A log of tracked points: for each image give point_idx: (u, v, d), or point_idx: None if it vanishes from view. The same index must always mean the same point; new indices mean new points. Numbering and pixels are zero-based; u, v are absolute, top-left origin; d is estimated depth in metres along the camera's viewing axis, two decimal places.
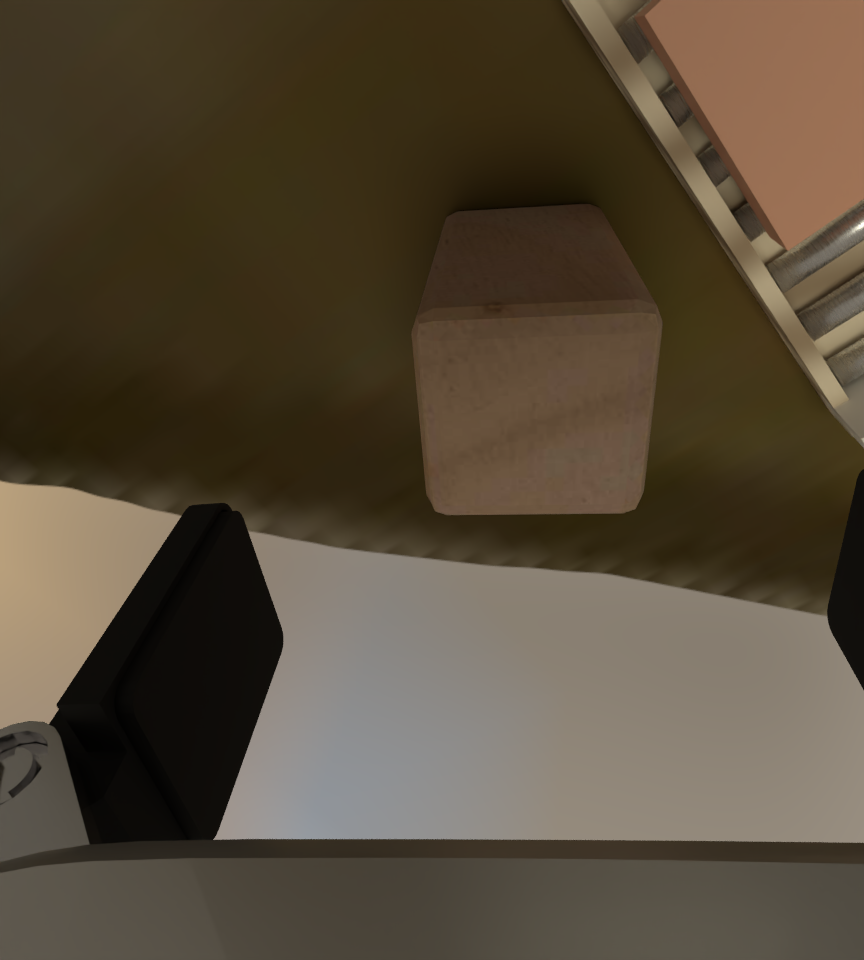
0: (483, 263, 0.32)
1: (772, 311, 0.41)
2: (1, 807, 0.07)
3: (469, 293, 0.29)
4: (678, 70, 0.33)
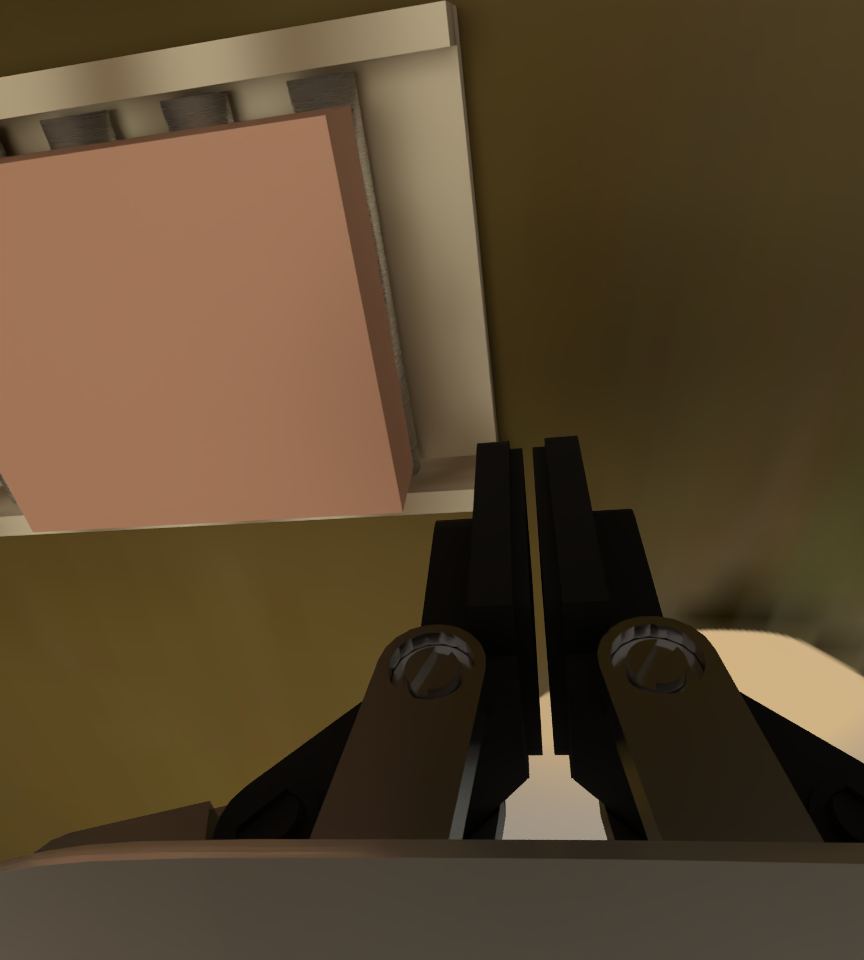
0: None
1: None
2: (416, 701, 0.07)
3: None
4: (214, 132, 0.17)
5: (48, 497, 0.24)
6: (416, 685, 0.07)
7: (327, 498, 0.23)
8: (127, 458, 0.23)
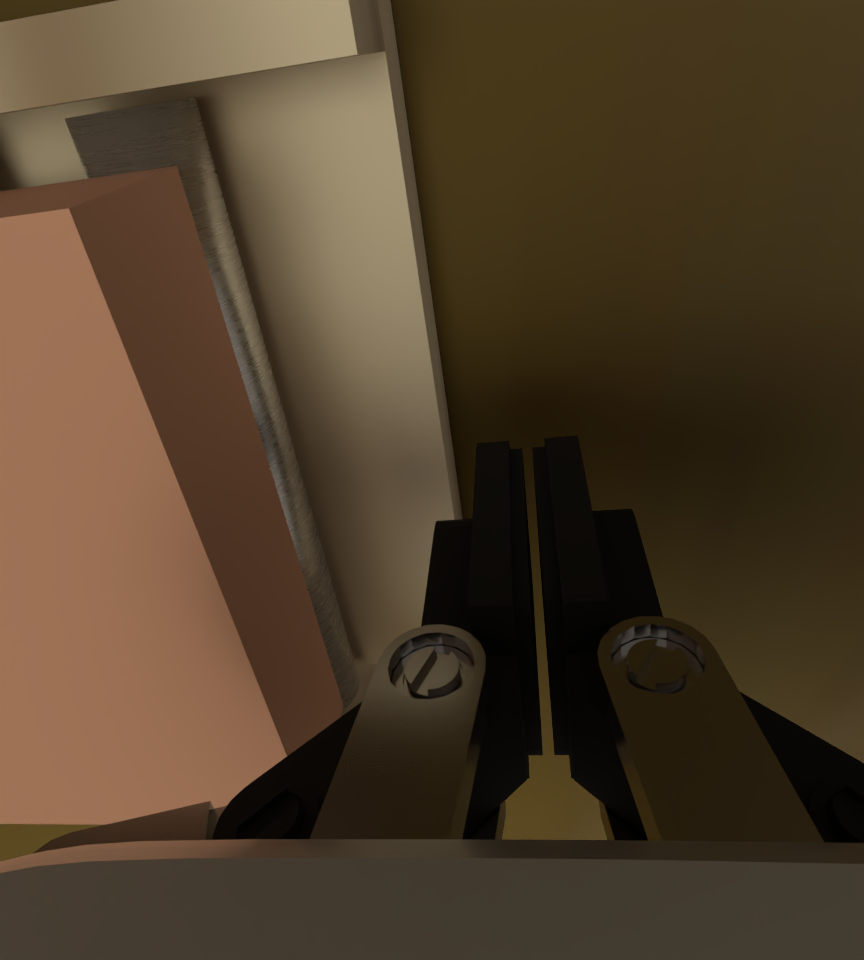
0: None
1: None
2: (416, 701, 0.07)
3: None
4: None
5: None
6: (416, 685, 0.07)
7: (189, 804, 0.14)
8: None
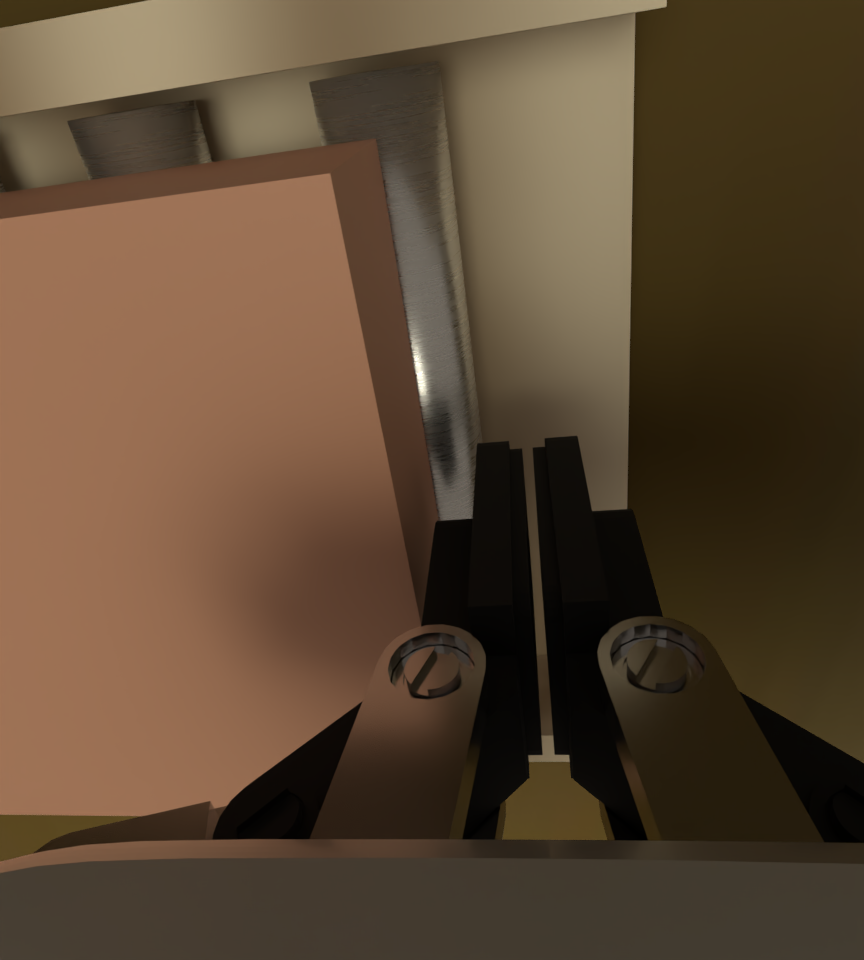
0: None
1: None
2: (416, 701, 0.07)
3: None
4: (84, 209, 0.08)
5: None
6: (416, 685, 0.07)
7: None
8: None
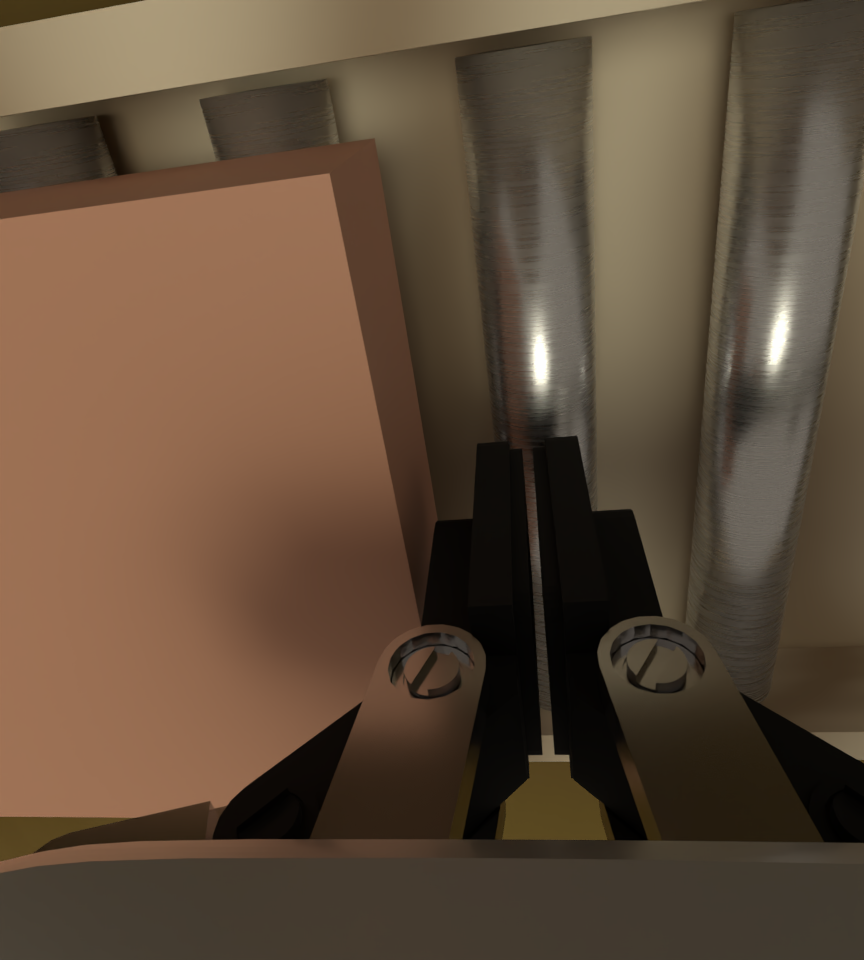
0: None
1: None
2: (416, 701, 0.07)
3: None
4: (82, 209, 0.08)
5: None
6: (416, 685, 0.07)
7: None
8: None
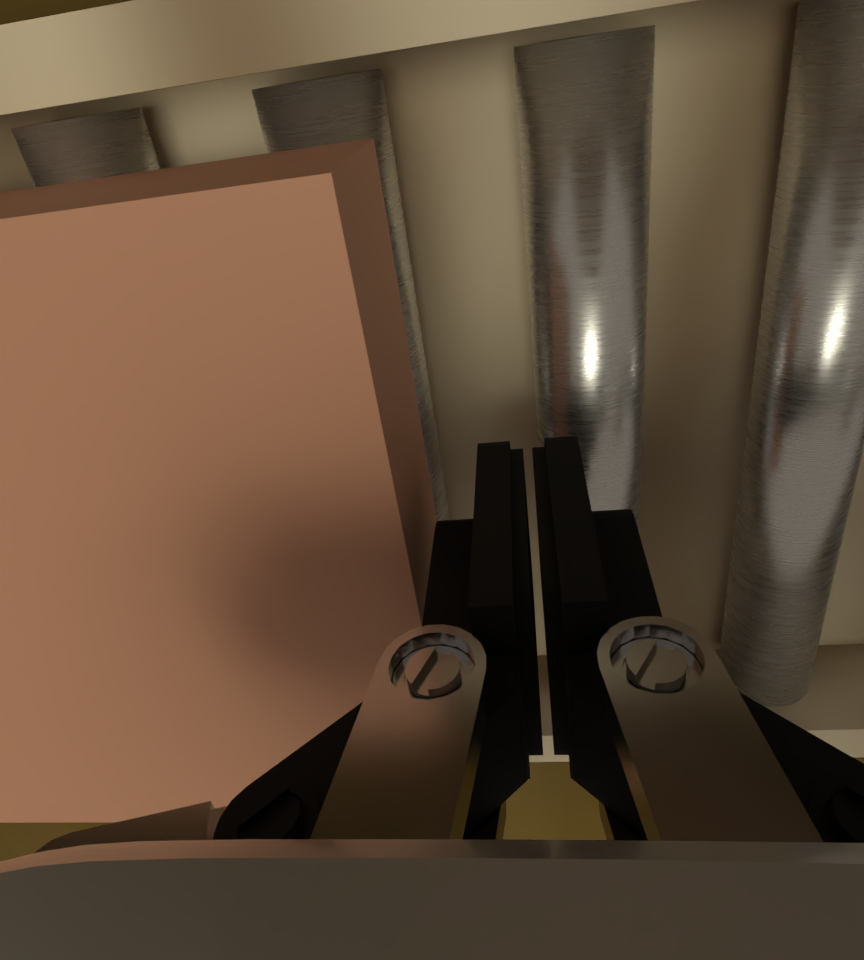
0: None
1: None
2: (417, 701, 0.07)
3: None
4: (81, 209, 0.08)
5: None
6: (417, 685, 0.07)
7: None
8: None
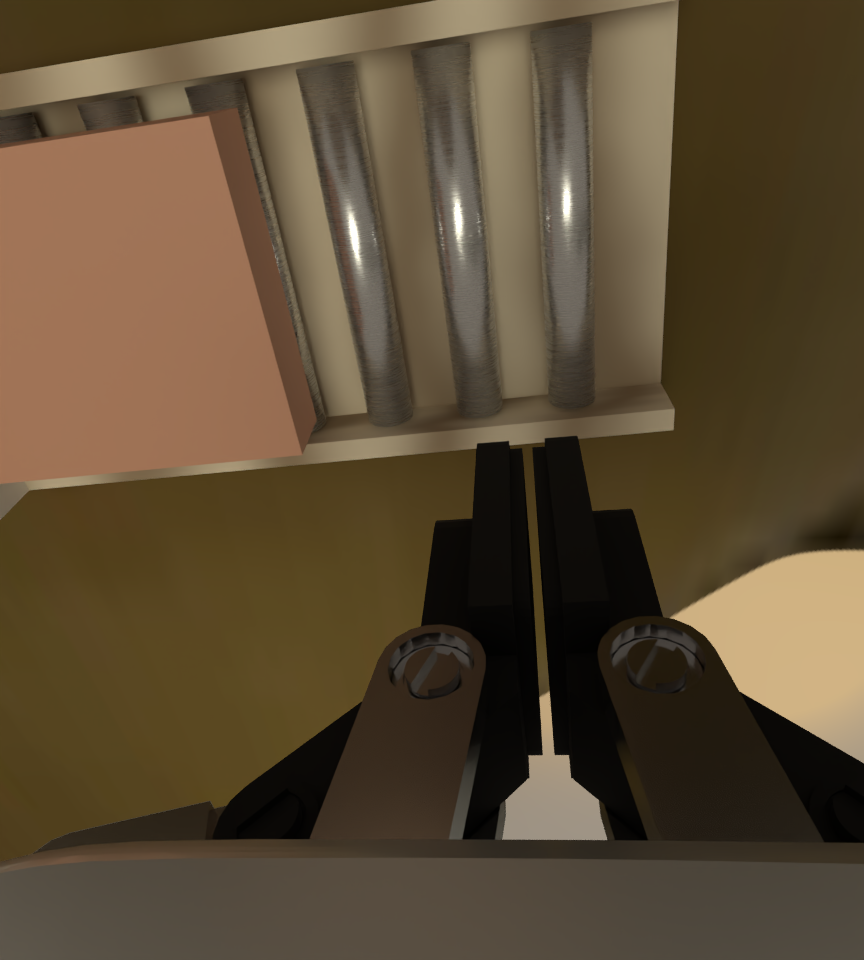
0: None
1: (45, 69, 0.23)
2: (416, 701, 0.07)
3: None
4: (118, 130, 0.21)
5: None
6: (416, 685, 0.07)
7: (237, 444, 0.27)
8: (60, 414, 0.27)
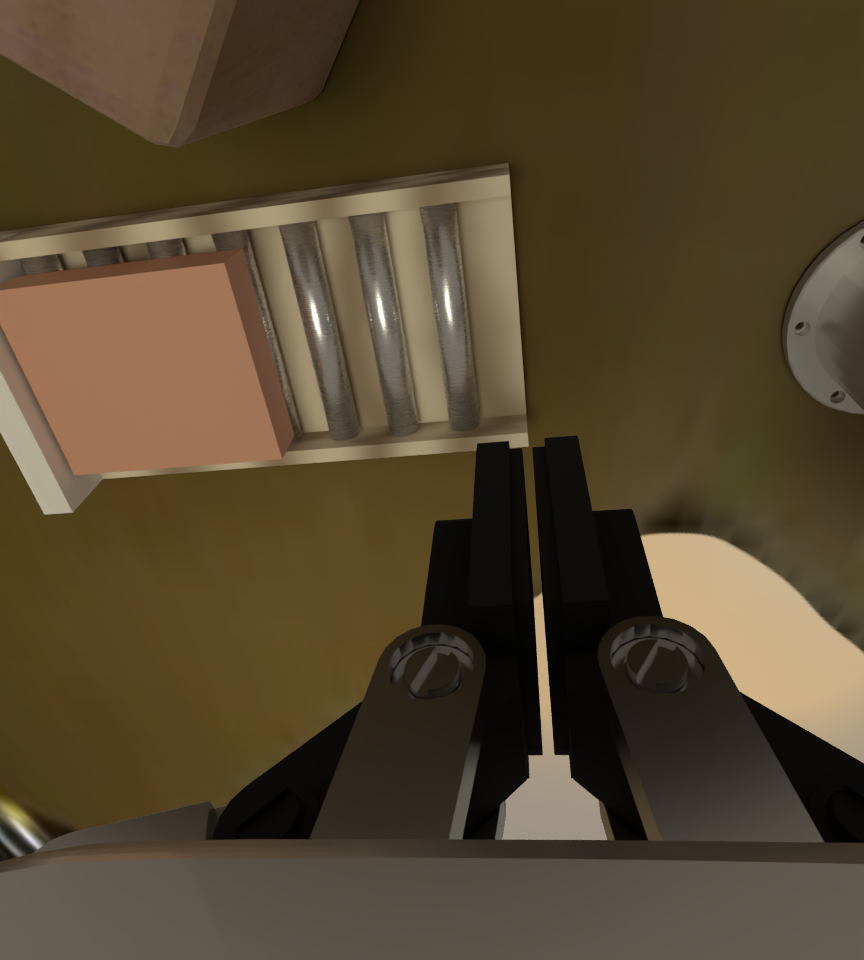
0: None
1: (128, 226, 0.38)
2: (416, 701, 0.07)
3: None
4: (172, 269, 0.36)
5: (84, 453, 0.43)
6: (416, 685, 0.07)
7: (240, 451, 0.42)
8: (129, 430, 0.42)
